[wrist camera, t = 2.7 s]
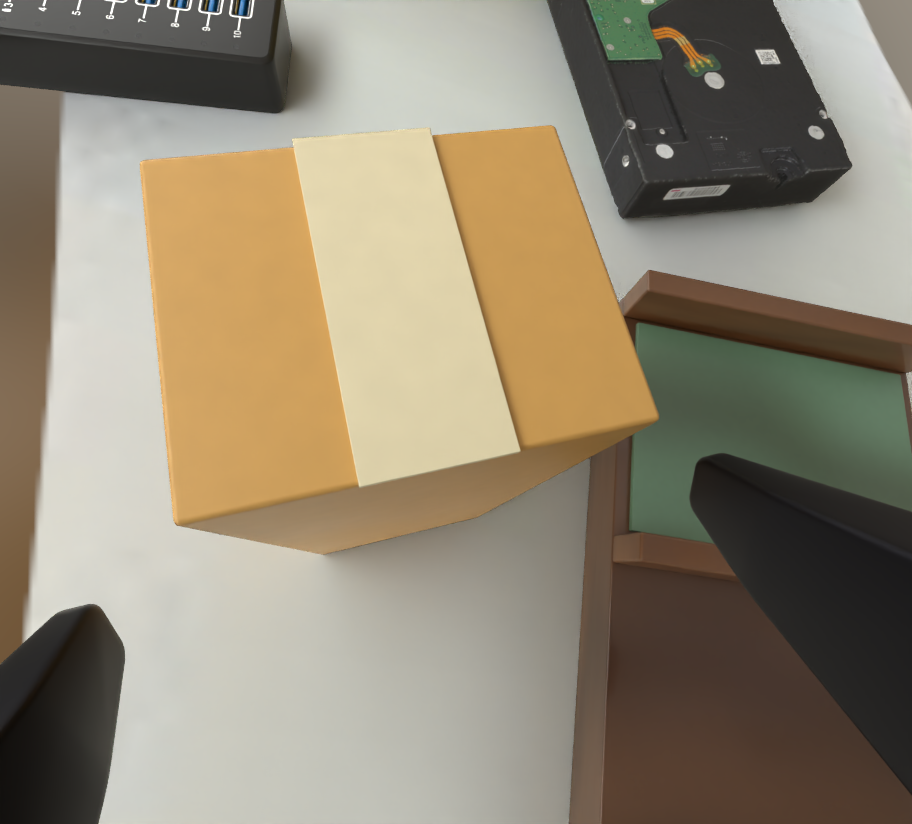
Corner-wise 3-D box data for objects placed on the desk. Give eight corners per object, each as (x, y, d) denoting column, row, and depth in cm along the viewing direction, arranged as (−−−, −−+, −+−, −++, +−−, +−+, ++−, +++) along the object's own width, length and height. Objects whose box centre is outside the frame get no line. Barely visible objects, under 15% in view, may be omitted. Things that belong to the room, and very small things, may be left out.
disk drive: (808, 209, 25) (708, -16, 28) (860, 166, 22) (742, -76, 26) (615, 229, 23) (534, -15, 26) (646, 185, 20) (551, -80, 24)
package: (478, 517, 18) (667, 419, 6) (321, 555, 17) (168, 528, 5) (448, 398, 19) (557, 116, 7) (300, 427, 18) (134, 151, 6)
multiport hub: (284, 114, 22) (272, 63, 20) (-96, 74, 20) (-156, 13, 18) (292, 38, 23) (282, -17, 21) (-64, -6, 21) (-115, -71, 19)
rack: (923, 1255, 14) (1192, 1599, 9) (530, 1242, 13) (612, 1616, 8) (835, 382, 22) (956, 333, 17) (590, 334, 21) (648, 268, 16)
